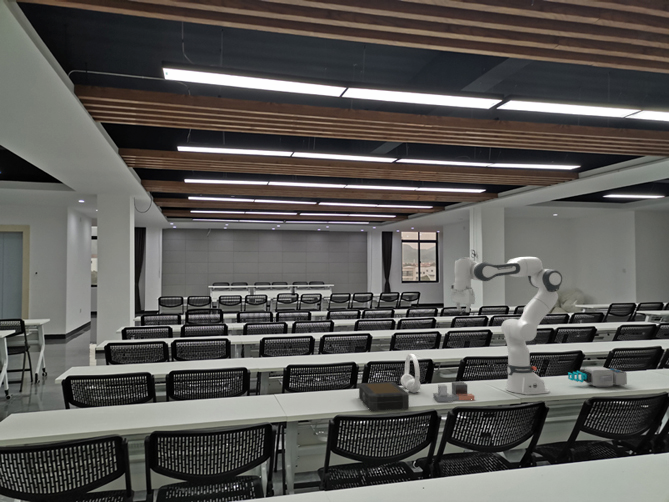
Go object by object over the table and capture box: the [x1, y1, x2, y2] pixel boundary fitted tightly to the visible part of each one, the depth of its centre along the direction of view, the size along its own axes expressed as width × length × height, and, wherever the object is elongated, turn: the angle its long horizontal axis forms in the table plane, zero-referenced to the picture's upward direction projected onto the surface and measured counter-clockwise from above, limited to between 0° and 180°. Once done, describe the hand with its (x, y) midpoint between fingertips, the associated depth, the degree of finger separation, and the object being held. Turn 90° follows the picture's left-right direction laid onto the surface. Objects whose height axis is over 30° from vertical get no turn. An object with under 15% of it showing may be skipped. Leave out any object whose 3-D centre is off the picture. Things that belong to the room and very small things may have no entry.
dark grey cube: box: [451, 381, 469, 395], centre depth 247 cm, size 6×6×6 cm
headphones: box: [400, 353, 421, 394], centre depth 258 cm, size 20×8×20 cm, turn 9°
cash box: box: [358, 381, 410, 412], centre depth 233 cm, size 25×20×8 cm
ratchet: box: [433, 384, 475, 403], centre depth 238 cm, size 20×8×8 cm, turn 94°
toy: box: [567, 366, 628, 388], centre depth 265 cm, size 16×10×30 cm
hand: (463, 311), depth 255 cm, fingers open, 8 cm apart
